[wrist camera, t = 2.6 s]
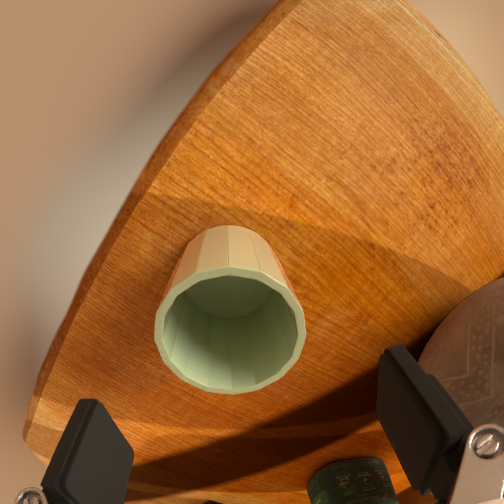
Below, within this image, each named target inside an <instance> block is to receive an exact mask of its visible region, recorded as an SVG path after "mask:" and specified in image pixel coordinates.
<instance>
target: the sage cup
mask: <svg viewBox="0 0 504 504" xmlns="http://www.w3.org/2000/svg"><path fill="white" fill-rule="evenodd" d="M305 339H306V327H305V319H304V312H303V309H302V307H301V305H300V303H299V300H298V298H297V296H296V294H295V292H294V290H293V288H292V286H291V284H290V282H289V280H288V278H287V276H286V274H285V272H284V270H283V268H282V266H281V264H280V262H279V260H278V257H277V256H276V254H275V253H274V251H273V250H272V248H271V246H270V245H269V244H268V242H267V241H266V240H265V239H264V238H263V237H261V236H260V235H259V234H257V233H256V232H254V231H252V230H250V229H247V228H245V227H241V226H235V225H221V226H216V227H212V228H209V229H207V230H205V231H203V232H201V233H199V234H198V235H197V236H195V237H194V238H193V239H192V240H191V241H190V242H189V243H188V244H187V246H186V247H185V249H184V251H183V253H182V254H181V256H180V258H179V259H178V262H177V264H176V266H175V269H174V271H173V273H172V276H171V278H170V280H169V283H168V285H167V287H166V290H165V292H164V294H163V297H162V299H161V302H160V304H159V307H158V309H157V312H156V315H155V329H154V340H155V343H156V345H157V348H158V350H159V353H160V355H161V358H162V360H163V362H164V363H165V364H166V365H167V366H168V367H169V368H170V369H171V370H172V371H173V372H174V373H175V374H176V375H177V376H178V377H179V378H180V379H181V380H182V381H184V382H186V383H188V384H190V385H192V386H194V387H197V388H199V389H201V390H203V391H206V392H212V393H220V394H228V395H235V394H241V393H246V392H252V391H257V390H260V389H262V388H264V387H266V386H268V385H270V384H271V383H273V382H275V381H277V380H279V379H281V377H283V376H284V375H285V374H286V373H287V372H288V370H289V369H290V368H291V367H292V366H293V365H294V364H295V363H296V361H297V360H298V359H299V356H300V353H301V351H302V348H303V345H304V342H305Z"/></svg>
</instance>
